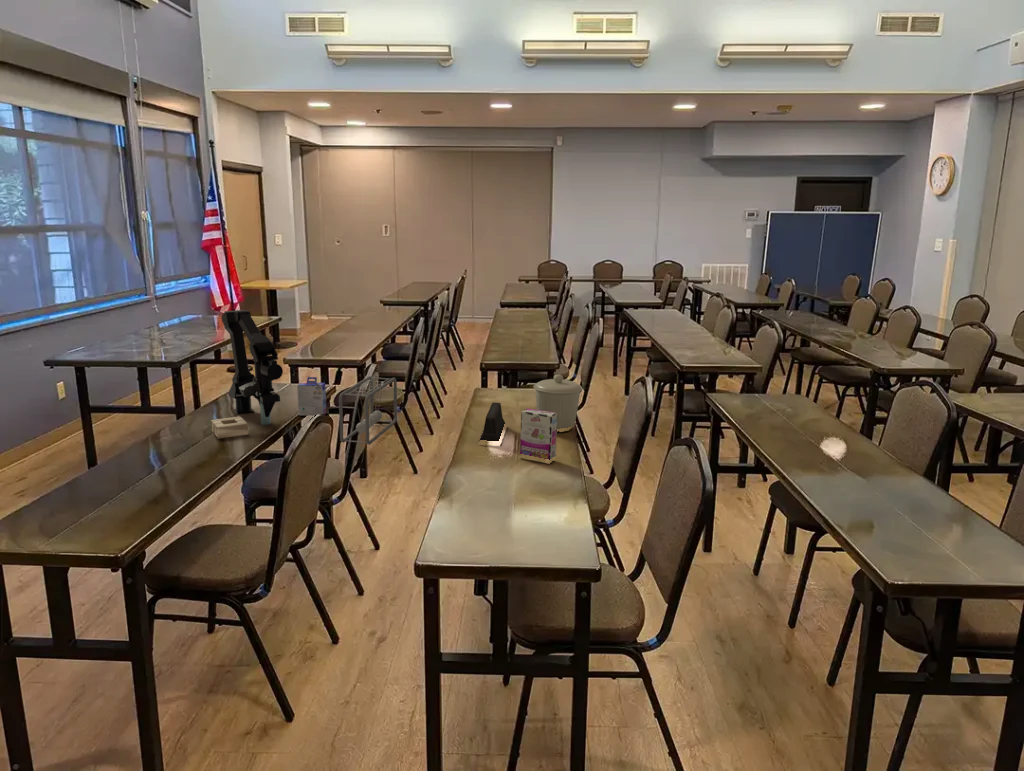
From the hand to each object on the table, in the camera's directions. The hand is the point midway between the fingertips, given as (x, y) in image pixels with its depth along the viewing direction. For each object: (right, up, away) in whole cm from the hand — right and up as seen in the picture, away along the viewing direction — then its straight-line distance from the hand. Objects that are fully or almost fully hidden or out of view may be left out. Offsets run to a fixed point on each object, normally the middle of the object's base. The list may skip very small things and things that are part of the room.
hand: (265, 415), depth 263 cm
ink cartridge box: (+13, 0, +14) cm, 20 cm away
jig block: (-9, -6, -11) cm, 15 cm away
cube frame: (+40, -6, -6) cm, 41 cm away
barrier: (+84, -7, -5) cm, 85 cm away
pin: (0, -3, +1) cm, 3 cm away
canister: (+108, -5, +4) cm, 108 cm away
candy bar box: (+100, -13, -29) cm, 105 cm away
